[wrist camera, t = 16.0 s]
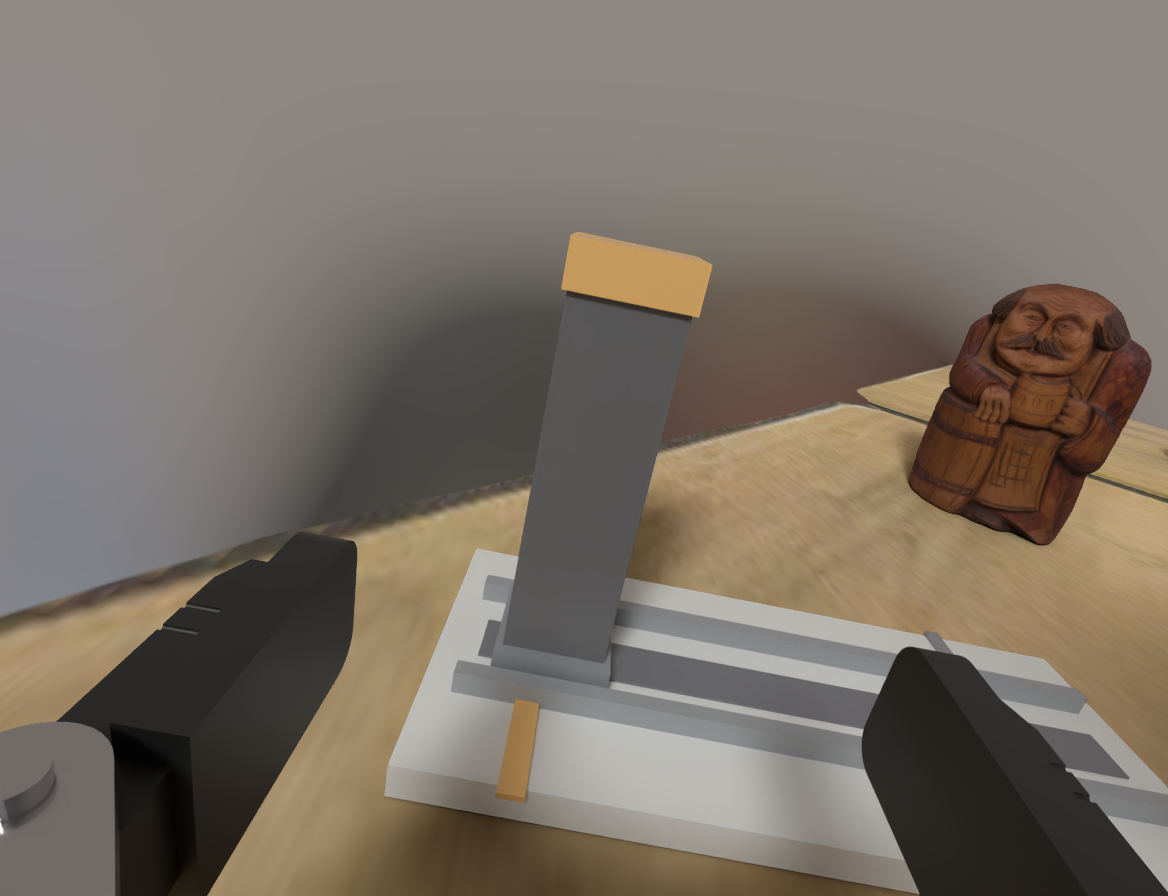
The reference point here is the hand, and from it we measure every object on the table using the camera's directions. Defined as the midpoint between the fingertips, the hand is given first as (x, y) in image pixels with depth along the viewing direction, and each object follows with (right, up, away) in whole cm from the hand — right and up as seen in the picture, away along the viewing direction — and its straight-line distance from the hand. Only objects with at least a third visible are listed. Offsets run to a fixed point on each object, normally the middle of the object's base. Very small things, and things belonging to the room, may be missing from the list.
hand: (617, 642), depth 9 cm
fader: (-2, -4, +14) cm, 15 cm away
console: (+7, -8, +15) cm, 18 cm away
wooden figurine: (+31, -2, +41) cm, 52 cm away
